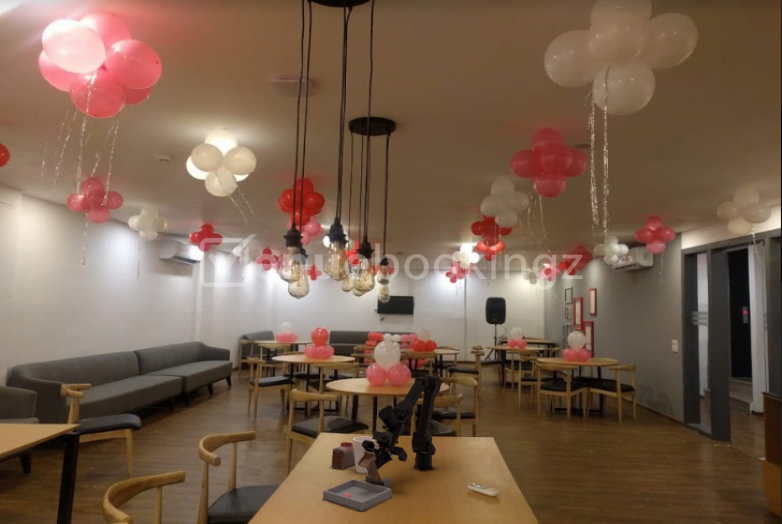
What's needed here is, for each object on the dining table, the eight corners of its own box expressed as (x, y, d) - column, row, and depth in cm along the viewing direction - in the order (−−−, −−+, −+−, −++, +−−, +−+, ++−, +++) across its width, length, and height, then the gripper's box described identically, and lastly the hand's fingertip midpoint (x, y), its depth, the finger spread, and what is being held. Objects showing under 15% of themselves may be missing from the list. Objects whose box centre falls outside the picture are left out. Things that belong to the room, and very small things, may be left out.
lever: (375, 481, 204) (364, 450, 199) (385, 484, 201) (374, 453, 196) (368, 491, 200) (356, 460, 195) (378, 494, 197) (366, 463, 192)
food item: (346, 459, 237) (347, 437, 238) (361, 462, 234) (362, 439, 235) (329, 468, 225) (330, 444, 226) (345, 471, 222) (346, 447, 222)
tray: (353, 486, 203) (353, 478, 203) (391, 497, 193) (391, 489, 193) (322, 499, 189) (323, 490, 190) (362, 512, 179) (362, 502, 179)
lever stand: (371, 485, 205) (372, 473, 206) (390, 490, 200) (390, 478, 200) (365, 488, 202) (365, 476, 202) (384, 493, 197) (384, 481, 197)
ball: (340, 500, 185) (344, 504, 186) (348, 498, 184) (351, 502, 185) (341, 492, 187) (345, 496, 189) (348, 490, 186) (352, 494, 188)
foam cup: (371, 475, 217) (372, 442, 218) (349, 473, 219) (350, 441, 220) (376, 468, 226) (377, 437, 227) (355, 466, 228) (356, 435, 229)
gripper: (364, 418, 211) (346, 453, 201) (403, 426, 200) (386, 463, 190) (376, 435, 216) (358, 469, 207) (414, 443, 206) (398, 479, 196)
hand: (374, 470), depth 200 cm, fingers closed, pressing on lever
